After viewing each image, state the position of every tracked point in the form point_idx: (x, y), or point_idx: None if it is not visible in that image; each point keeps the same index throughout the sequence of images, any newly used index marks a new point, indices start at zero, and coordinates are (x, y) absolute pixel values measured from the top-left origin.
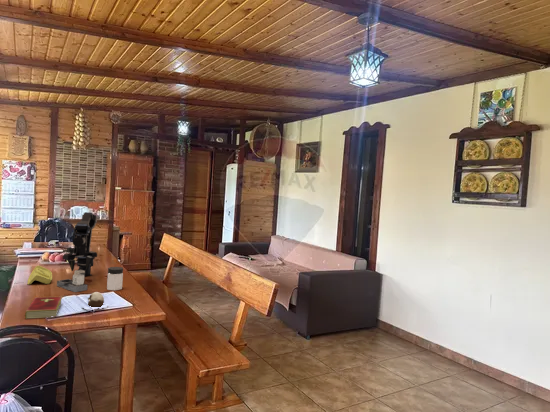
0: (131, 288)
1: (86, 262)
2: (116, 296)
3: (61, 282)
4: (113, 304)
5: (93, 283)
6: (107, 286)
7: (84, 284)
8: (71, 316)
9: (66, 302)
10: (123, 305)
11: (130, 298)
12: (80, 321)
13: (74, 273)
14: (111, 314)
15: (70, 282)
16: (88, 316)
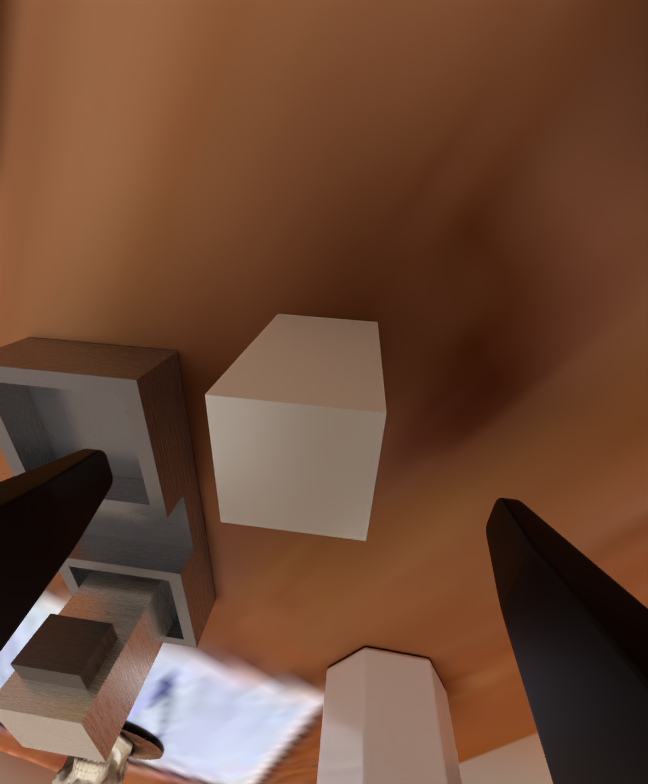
0: (463, 728)
1: (646, 716)
2: (272, 733)
3: (8, 453)
4: (189, 758)
5: (397, 509)
6: (325, 697)
7: (182, 627)
8: (3, 730)
9: (16, 654)
10: (213, 777)
11: (299, 769)
12: (20, 755)
13: (232, 367)
14: (127, 779)
15: (104, 504)
16: (55, 754)
